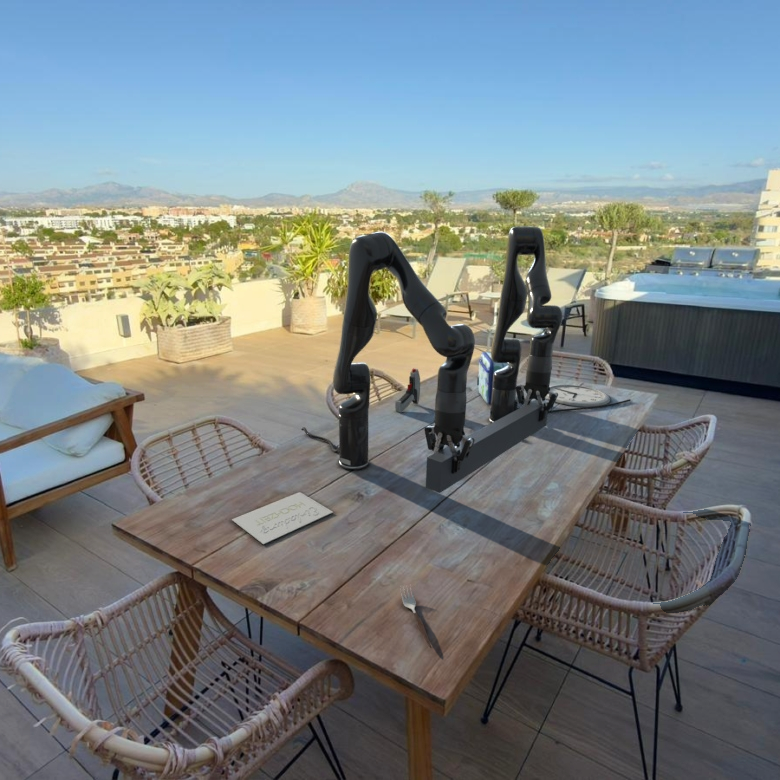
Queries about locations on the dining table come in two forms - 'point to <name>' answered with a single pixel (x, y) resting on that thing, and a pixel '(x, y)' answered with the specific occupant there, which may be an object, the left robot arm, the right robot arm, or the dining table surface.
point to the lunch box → (487, 375)
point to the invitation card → (281, 517)
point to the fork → (411, 605)
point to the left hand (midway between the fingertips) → (446, 469)
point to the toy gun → (410, 392)
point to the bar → (484, 446)
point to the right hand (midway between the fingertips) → (533, 418)
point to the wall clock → (579, 396)
